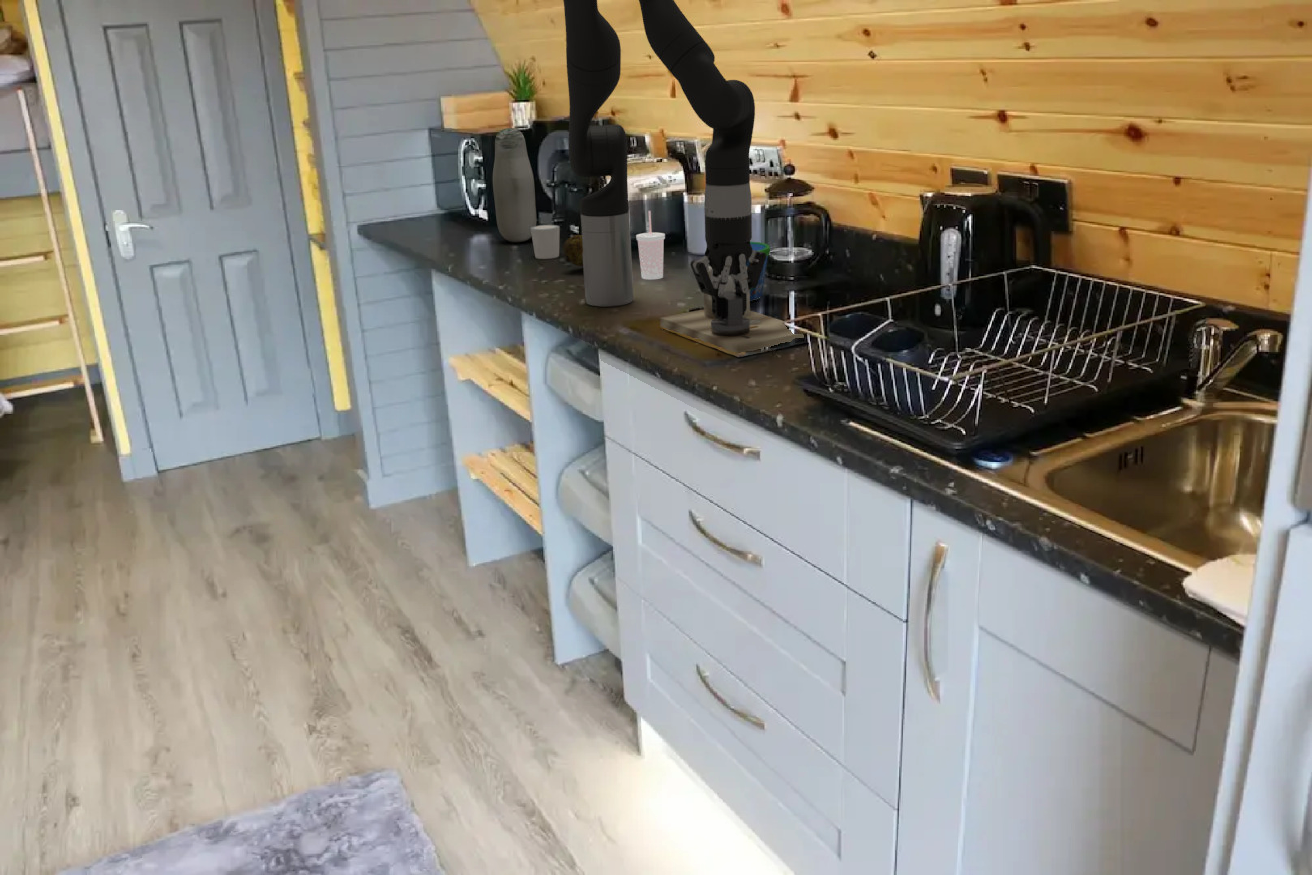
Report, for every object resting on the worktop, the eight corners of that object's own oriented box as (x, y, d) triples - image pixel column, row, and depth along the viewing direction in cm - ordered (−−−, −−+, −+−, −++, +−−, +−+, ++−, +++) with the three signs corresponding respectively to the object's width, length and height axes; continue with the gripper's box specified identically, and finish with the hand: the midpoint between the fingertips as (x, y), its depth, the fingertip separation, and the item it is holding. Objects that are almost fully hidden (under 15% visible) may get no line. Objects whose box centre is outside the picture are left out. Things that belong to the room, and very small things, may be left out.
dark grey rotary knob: (717, 336, 181) (716, 301, 179) (706, 327, 186) (705, 293, 184) (766, 331, 182) (766, 296, 180) (754, 322, 188) (754, 288, 186)
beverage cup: (663, 280, 233) (661, 213, 229) (635, 280, 235) (631, 213, 230) (669, 274, 239) (666, 208, 234) (641, 274, 240) (638, 208, 235)
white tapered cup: (560, 258, 260) (557, 228, 258) (530, 259, 260) (528, 230, 258) (563, 253, 267) (560, 223, 264) (534, 254, 267) (532, 225, 264)
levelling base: (660, 328, 196) (657, 266, 192) (730, 315, 203) (729, 254, 199) (738, 358, 177) (737, 289, 173) (813, 342, 184) (813, 275, 180)
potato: (626, 269, 246) (624, 233, 243) (570, 276, 241) (567, 239, 238) (613, 263, 253) (611, 227, 250) (559, 269, 249) (556, 233, 246)
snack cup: (754, 310, 206) (754, 255, 202) (702, 306, 210) (700, 253, 207) (781, 291, 219) (781, 240, 216) (731, 288, 223) (730, 238, 220)
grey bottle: (493, 241, 286) (483, 128, 276) (531, 236, 290) (522, 125, 280) (505, 247, 277) (494, 131, 268) (543, 242, 281) (535, 128, 272)
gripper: (703, 220, 171) (706, 328, 178) (777, 209, 178) (777, 314, 184) (678, 214, 177) (681, 319, 184) (750, 204, 184) (751, 305, 190)
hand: (729, 316), depth 184 cm, fingers closed on dark grey rotary knob, 3 cm apart
